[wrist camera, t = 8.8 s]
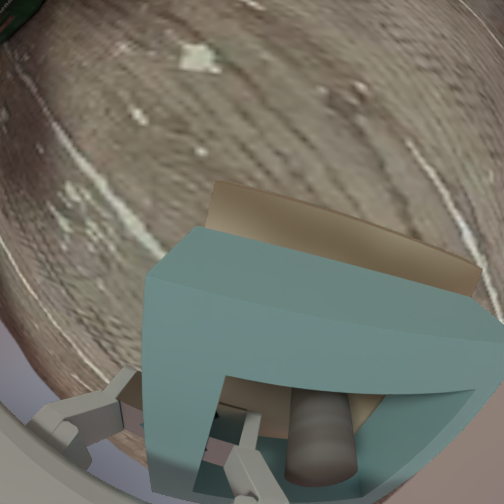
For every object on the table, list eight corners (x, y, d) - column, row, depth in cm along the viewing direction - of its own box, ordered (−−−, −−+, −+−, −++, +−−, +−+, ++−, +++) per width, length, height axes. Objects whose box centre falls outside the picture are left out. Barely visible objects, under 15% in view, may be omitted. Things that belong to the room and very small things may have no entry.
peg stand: (224, 180, 12) (126, 192, 5) (467, 260, 11) (561, 327, 4) (183, 397, 16) (139, 484, 9) (361, 436, 15) (370, 521, 8)
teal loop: (196, 225, 8) (145, 274, 4) (470, 297, 9) (525, 344, 5) (169, 433, 12) (151, 491, 8) (359, 454, 12) (371, 503, 8)
